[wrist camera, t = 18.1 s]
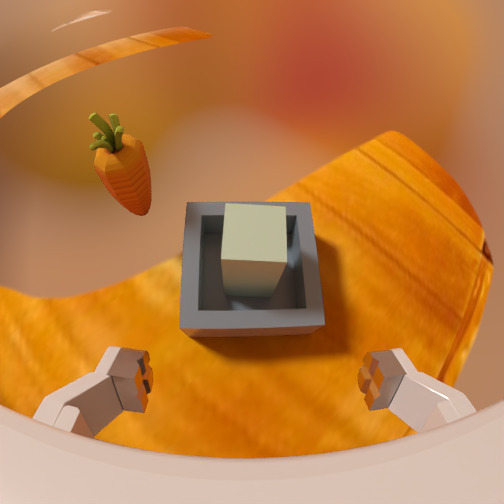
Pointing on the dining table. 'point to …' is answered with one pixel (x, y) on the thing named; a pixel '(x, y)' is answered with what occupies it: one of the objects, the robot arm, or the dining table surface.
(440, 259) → the dining table surface
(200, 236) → the gray open box
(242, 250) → the sage block
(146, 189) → the carrot
